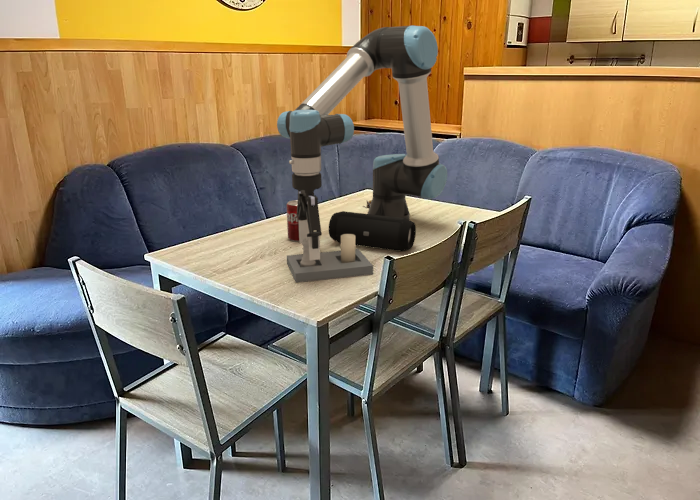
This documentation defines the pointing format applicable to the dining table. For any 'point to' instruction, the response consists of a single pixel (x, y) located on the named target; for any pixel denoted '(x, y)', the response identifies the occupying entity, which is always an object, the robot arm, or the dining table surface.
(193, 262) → the dining table surface
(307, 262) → the rook chess piece
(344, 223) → the portable speaker
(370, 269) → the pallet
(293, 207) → the soda can
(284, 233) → the dining table surface
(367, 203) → the pastry
